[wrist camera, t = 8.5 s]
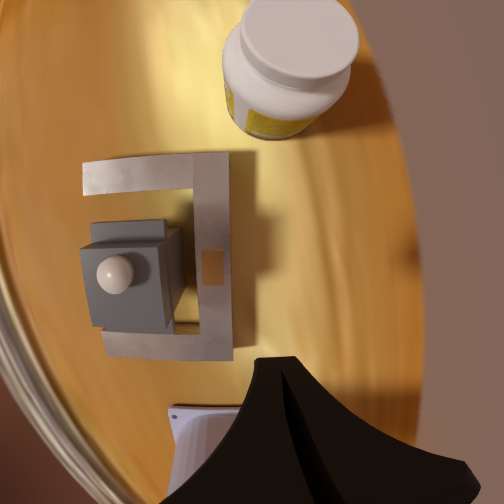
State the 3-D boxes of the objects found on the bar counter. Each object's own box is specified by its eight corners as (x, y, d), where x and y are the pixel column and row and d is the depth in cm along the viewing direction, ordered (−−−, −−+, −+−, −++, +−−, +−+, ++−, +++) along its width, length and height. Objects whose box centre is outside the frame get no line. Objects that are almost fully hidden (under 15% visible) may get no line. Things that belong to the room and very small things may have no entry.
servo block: (186, 302, 20) (165, 356, 13) (130, 301, 20) (90, 350, 13) (180, 211, 18) (151, 227, 12) (121, 213, 18) (69, 231, 12)
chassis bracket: (233, 348, 21) (233, 365, 19) (114, 344, 20) (104, 359, 18) (229, 154, 18) (228, 151, 16) (93, 164, 17) (78, 162, 15)
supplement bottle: (329, 108, 17) (407, 53, 8) (266, 159, 18) (298, 136, 8) (273, 48, 16) (302, -45, 7) (208, 97, 17) (182, 21, 7)
